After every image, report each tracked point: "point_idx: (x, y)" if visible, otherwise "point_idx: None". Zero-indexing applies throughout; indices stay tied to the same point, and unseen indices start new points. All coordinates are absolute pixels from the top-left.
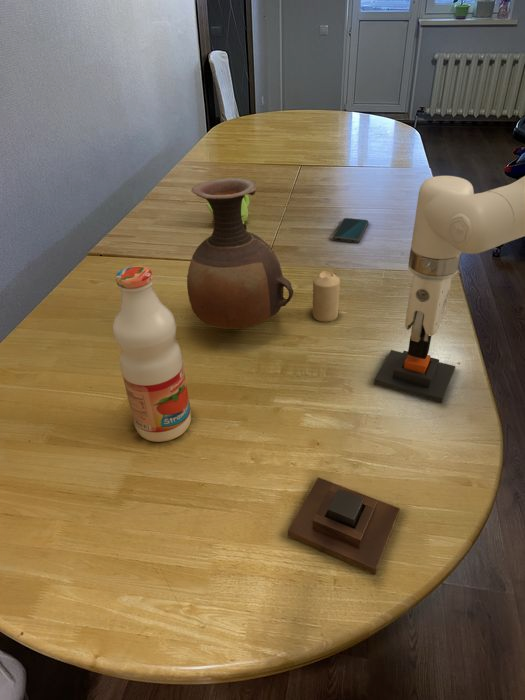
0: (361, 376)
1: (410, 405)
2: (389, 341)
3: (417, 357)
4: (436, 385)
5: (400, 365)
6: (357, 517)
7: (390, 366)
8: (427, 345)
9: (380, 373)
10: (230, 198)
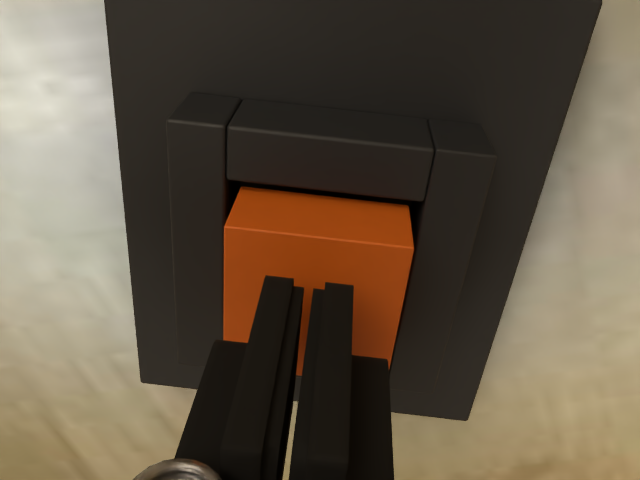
0: (409, 444)
1: (631, 195)
2: (29, 374)
3: None
4: (437, 72)
5: None
6: None
7: None
8: (346, 405)
9: (405, 403)
10: None
